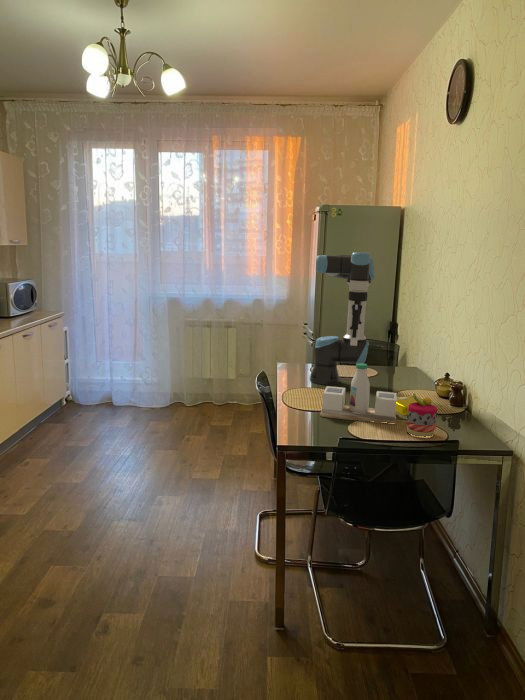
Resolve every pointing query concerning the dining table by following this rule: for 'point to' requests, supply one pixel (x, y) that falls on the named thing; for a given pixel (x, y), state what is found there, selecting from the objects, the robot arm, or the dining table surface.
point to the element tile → (405, 404)
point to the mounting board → (357, 415)
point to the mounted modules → (336, 400)
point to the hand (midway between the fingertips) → (354, 342)
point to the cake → (421, 417)
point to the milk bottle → (360, 390)
